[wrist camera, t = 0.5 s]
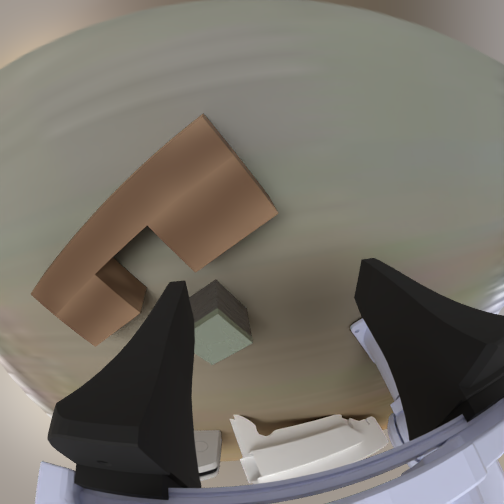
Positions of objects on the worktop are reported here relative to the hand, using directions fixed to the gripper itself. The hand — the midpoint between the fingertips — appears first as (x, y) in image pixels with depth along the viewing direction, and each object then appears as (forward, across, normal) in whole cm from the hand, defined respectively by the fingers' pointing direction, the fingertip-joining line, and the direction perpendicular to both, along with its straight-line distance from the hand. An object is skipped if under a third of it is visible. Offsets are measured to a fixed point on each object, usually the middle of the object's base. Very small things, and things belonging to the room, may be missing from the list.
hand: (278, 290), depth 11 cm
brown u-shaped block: (+9, +8, +1) cm, 12 cm away
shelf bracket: (+10, -8, +35) cm, 37 cm away
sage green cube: (+10, +4, +9) cm, 13 cm away
